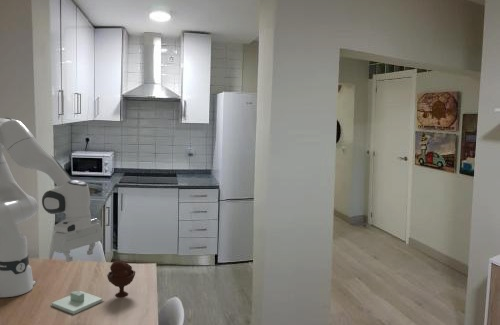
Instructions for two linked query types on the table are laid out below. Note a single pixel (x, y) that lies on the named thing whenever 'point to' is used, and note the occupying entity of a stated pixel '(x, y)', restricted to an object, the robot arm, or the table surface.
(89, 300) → the lid
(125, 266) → the ice cream bowl
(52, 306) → the mat
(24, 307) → the table surface
